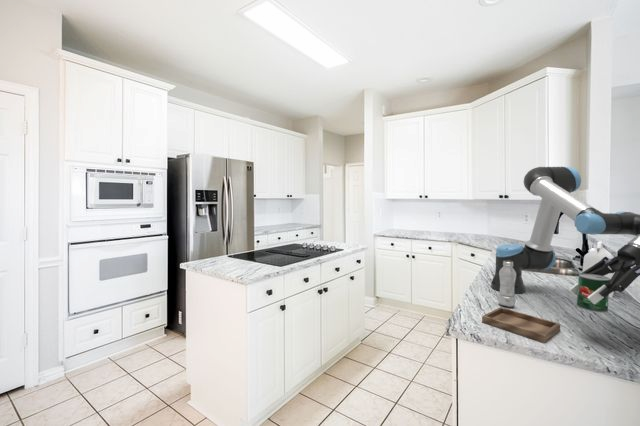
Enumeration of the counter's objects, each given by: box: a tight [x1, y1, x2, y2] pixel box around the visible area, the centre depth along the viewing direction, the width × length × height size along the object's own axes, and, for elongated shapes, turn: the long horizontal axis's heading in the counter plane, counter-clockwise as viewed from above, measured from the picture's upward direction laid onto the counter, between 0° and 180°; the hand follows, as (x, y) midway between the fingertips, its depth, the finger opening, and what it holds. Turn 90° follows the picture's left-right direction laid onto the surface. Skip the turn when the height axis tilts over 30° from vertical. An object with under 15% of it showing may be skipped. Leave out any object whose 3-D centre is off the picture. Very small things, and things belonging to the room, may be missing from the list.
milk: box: [582, 241, 615, 298], centre depth 151 cm, size 12×12×26 cm
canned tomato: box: [576, 273, 610, 314], centre depth 100 cm, size 8×8×11 cm
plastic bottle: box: [497, 261, 516, 308], centre depth 131 cm, size 6×7×20 cm
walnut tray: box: [481, 307, 561, 344], centre depth 110 cm, size 20×16×2 cm
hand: (581, 296), depth 101 cm, fingers closed on canned tomato, 8 cm apart
